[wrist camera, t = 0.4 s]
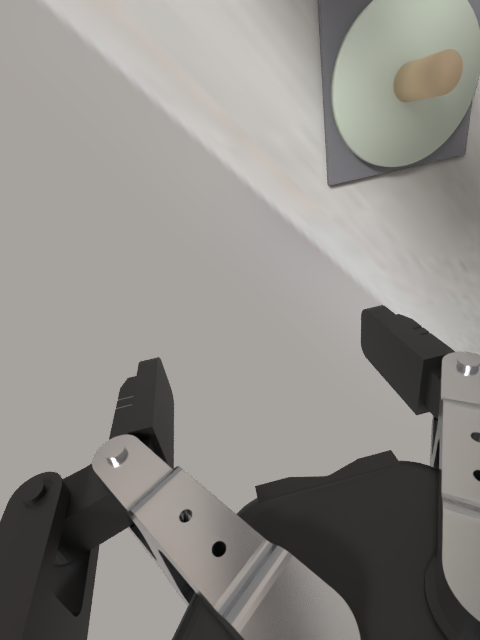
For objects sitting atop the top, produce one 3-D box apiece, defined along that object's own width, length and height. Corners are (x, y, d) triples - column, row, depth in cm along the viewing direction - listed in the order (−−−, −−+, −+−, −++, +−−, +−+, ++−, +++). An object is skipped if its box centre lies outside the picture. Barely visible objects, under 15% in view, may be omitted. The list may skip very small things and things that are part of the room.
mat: (317, -5, 30) (320, -8, 29) (484, -37, 31) (490, -40, 30) (327, 184, 38) (329, 185, 37) (461, 154, 39) (464, 154, 38)
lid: (326, -1, 30) (359, -33, 24) (483, -31, 31) (550, -69, 25) (334, 179, 37) (361, 185, 32) (461, 150, 38) (509, 151, 32)
